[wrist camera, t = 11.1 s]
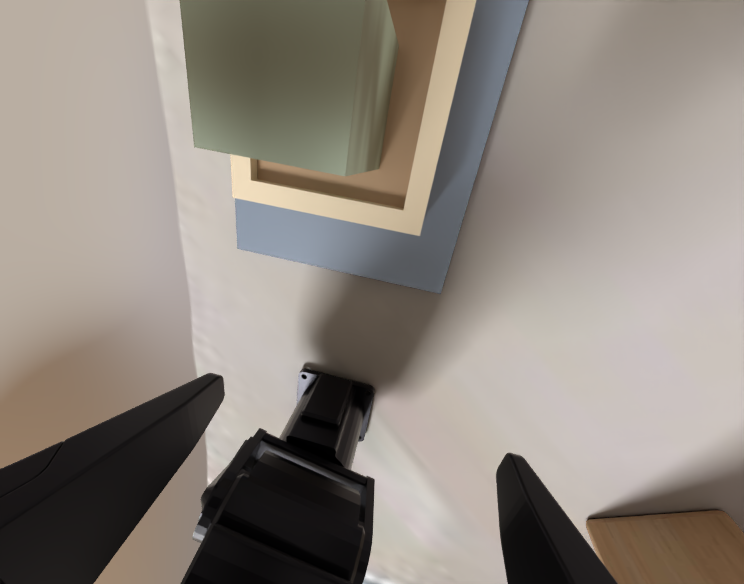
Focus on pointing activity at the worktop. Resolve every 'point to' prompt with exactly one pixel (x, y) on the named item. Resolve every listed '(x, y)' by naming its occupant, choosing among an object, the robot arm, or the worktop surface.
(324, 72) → the sage block
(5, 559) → the robot arm
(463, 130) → the build base
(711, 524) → the wooden block
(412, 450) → the worktop surface
